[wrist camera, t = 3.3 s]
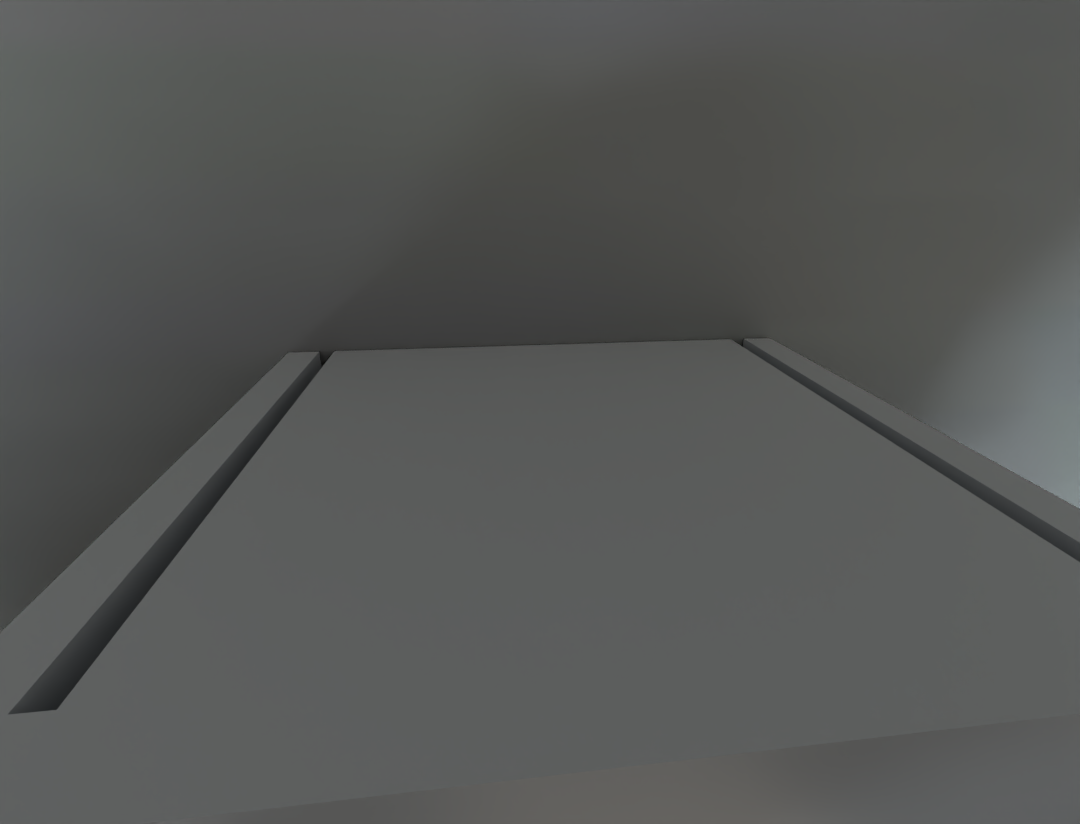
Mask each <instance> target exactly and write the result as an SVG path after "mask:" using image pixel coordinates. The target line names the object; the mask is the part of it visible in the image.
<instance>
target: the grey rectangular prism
mask: <svg viewBox="0 0 1080 824" xmlns="http://www.w3.org/2000/svg"><path fill="white" fill-rule="evenodd" d="M0 824H1080V509H1079V508H1077V507H1075V506H1073V505H1072V504H1070V503H1068V502H1066V501H1064V500H1062V499H1061V498H1059V497H1057V496H1055V495H1053V494H1052V493H1050V492H1048V491H1046V490H1044V489H1043V488H1041V487H1039V486H1037V485H1035V484H1033V483H1032V482H1030V481H1028V480H1026V479H1024V478H1023V477H1021V476H1019V475H1017V474H1015V473H1014V472H1012V471H1010V470H1008V469H1006V468H1004V467H1003V466H1001V465H999V464H997V463H995V462H994V461H992V460H990V459H988V458H986V457H984V456H983V455H981V454H979V453H977V452H975V451H974V450H972V449H970V448H968V447H966V446H965V445H963V444H961V443H959V442H957V441H955V440H954V439H952V438H950V437H948V436H946V435H945V434H943V433H941V432H939V431H937V430H936V429H934V428H932V427H930V426H928V425H926V424H925V423H923V422H921V421H919V420H917V419H916V418H914V417H912V416H910V415H908V414H907V413H905V412H903V411H901V410H899V409H897V408H896V407H894V406H892V405H890V404H888V403H887V402H885V401H883V400H881V399H879V398H878V397H876V396H874V395H872V394H870V393H868V392H867V391H865V390H863V389H861V388H859V387H858V386H856V385H854V384H852V383H850V382H849V381H847V380H845V379H843V378H841V377H839V376H838V375H836V374H834V373H832V372H830V371H829V370H827V369H825V368H823V367H821V366H820V365H818V364H816V363H814V362H812V361H810V360H809V359H807V358H805V357H803V356H801V355H800V354H798V353H796V352H794V351H792V350H791V349H789V348H787V347H785V346H783V345H781V344H780V343H778V342H776V341H774V340H772V339H771V338H753V339H744V341H743V347H742V346H741V345H739V344H738V343H736V342H734V341H733V340H731V339H720V340H687V341H654V342H621V343H588V344H554V345H521V346H488V347H455V348H422V349H389V350H356V351H334V352H333V354H332V355H331V356H330V358H329V359H328V360H327V361H326V363H325V364H324V365H323V367H322V366H321V360H320V354H319V352H290V353H287V354H286V355H285V356H284V357H283V358H282V359H281V360H280V361H279V362H278V363H277V364H276V365H275V366H274V367H273V368H272V369H271V370H270V371H269V372H268V373H267V374H266V375H265V376H263V377H262V378H261V379H260V380H259V381H258V382H257V383H256V384H255V385H254V386H253V387H252V388H251V389H250V390H249V391H248V392H247V393H246V394H245V395H244V396H243V397H242V398H241V399H240V400H239V401H238V402H237V403H236V404H235V405H234V406H233V407H232V408H231V409H230V410H229V411H228V412H226V413H225V414H224V415H223V416H222V417H221V418H220V419H219V420H218V421H217V422H216V423H215V424H214V425H213V426H212V427H211V428H210V429H209V430H208V431H207V432H206V433H205V434H204V435H203V436H202V437H201V438H200V439H199V440H198V441H197V442H196V443H195V444H194V445H193V446H192V447H191V448H189V449H188V450H187V451H186V452H185V453H184V454H183V455H182V456H181V457H180V458H179V459H178V460H177V461H176V462H175V463H174V464H173V465H172V466H171V467H170V468H169V469H168V470H167V471H166V472H165V473H164V474H163V475H162V476H161V477H160V478H159V479H158V480H157V481H156V482H155V483H154V484H153V485H151V486H150V487H149V488H148V489H147V490H146V491H145V492H144V493H143V494H142V495H141V496H140V497H139V498H138V499H137V500H136V501H135V502H134V503H133V504H132V505H131V506H130V507H129V508H128V509H127V510H126V511H125V512H124V513H123V514H122V515H121V516H120V517H119V518H118V519H117V520H116V521H114V522H113V523H112V524H111V525H110V526H109V527H108V528H107V529H106V530H105V531H104V532H103V533H102V534H101V535H100V536H99V537H98V538H97V539H96V540H95V541H94V542H93V543H92V544H91V545H90V546H89V547H88V548H87V549H86V550H85V551H84V552H83V553H82V554H81V555H80V556H79V557H77V558H76V559H75V560H74V561H73V562H72V563H71V564H70V565H69V566H68V567H67V568H66V569H65V570H64V571H63V572H62V573H61V574H60V575H59V576H58V577H57V578H56V579H55V580H54V581H53V582H52V583H51V584H50V585H49V586H48V587H47V588H46V589H45V590H44V591H43V592H42V593H40V594H39V595H38V596H37V597H36V598H35V599H34V600H33V601H32V602H31V603H30V604H29V605H28V606H27V607H26V608H25V609H24V610H23V611H22V612H21V613H20V614H19V615H18V616H17V617H16V618H15V619H14V620H13V621H12V622H11V623H10V624H9V625H8V626H7V627H6V628H5V629H3V630H2V631H1V632H0Z"/></svg>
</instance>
